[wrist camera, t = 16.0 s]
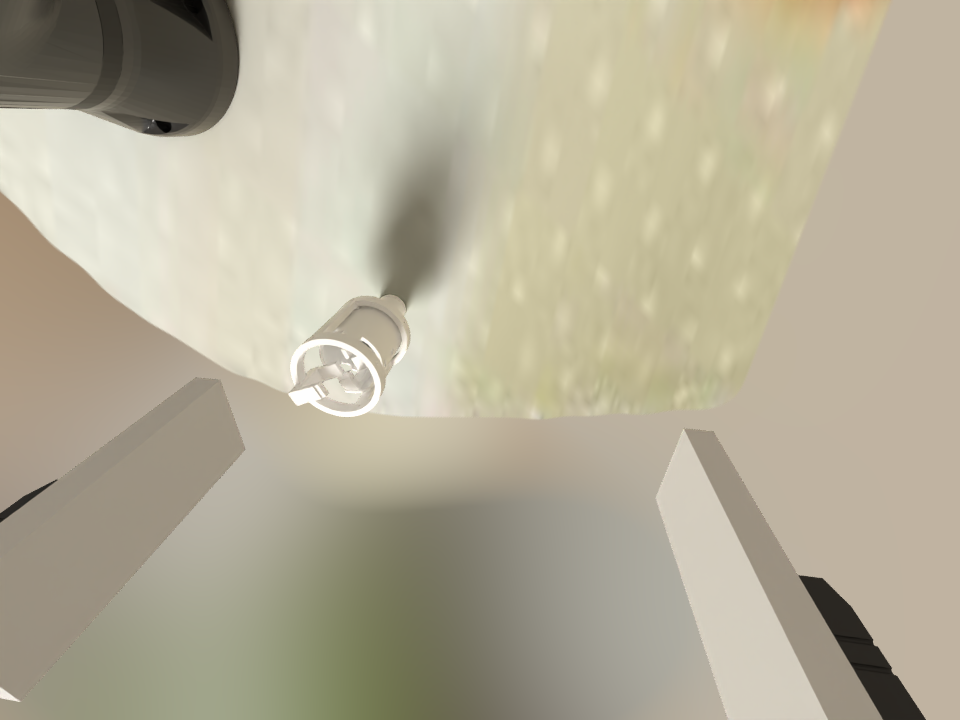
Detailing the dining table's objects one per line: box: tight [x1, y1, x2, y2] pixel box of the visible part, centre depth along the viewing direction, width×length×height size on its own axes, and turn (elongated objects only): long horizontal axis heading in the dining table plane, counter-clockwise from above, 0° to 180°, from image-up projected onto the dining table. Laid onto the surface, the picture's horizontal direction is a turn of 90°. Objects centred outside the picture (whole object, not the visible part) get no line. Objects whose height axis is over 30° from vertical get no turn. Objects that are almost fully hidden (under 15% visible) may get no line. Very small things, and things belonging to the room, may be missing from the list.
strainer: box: [288, 294, 410, 417], centre depth 35 cm, size 7×7×15 cm
